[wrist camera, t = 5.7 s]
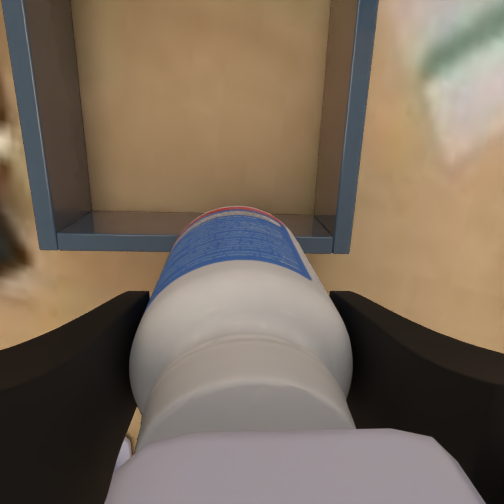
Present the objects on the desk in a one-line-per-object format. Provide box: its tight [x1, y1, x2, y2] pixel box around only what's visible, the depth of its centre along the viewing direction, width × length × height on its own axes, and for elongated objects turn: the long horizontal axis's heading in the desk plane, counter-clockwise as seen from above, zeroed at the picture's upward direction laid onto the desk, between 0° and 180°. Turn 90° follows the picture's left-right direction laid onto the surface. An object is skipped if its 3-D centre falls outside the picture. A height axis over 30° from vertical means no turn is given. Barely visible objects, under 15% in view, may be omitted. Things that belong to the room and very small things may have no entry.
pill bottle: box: [129, 206, 356, 454], centre depth 11 cm, size 6×5×10 cm
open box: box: [1, 0, 379, 254], centre depth 17 cm, size 14×14×4 cm
